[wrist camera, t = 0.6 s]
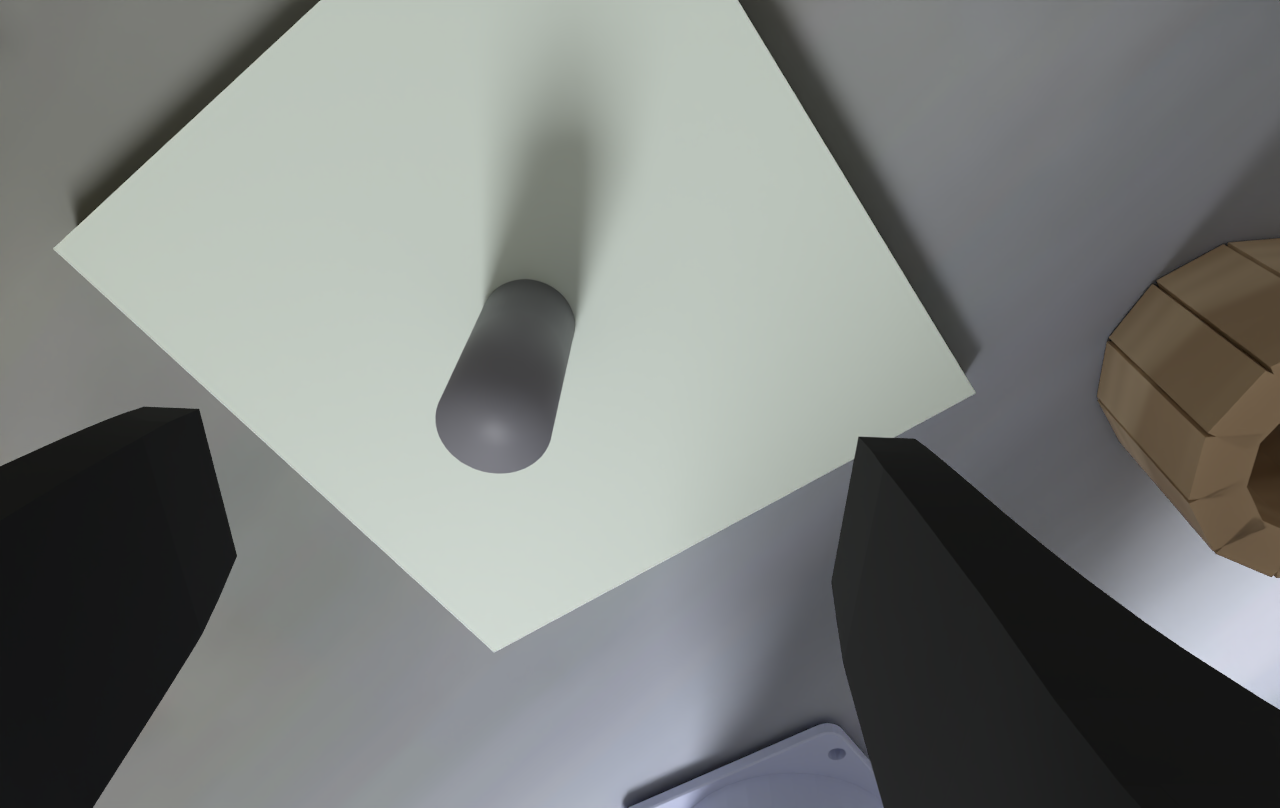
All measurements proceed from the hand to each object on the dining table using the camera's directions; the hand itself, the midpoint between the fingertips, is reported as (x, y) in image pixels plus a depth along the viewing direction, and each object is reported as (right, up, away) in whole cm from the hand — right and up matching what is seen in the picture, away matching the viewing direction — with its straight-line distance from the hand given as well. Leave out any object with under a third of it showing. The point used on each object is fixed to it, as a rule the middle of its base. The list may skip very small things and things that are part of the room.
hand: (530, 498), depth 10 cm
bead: (+14, +2, +10) cm, 17 cm away
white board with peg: (-1, +3, +9) cm, 10 cm away
